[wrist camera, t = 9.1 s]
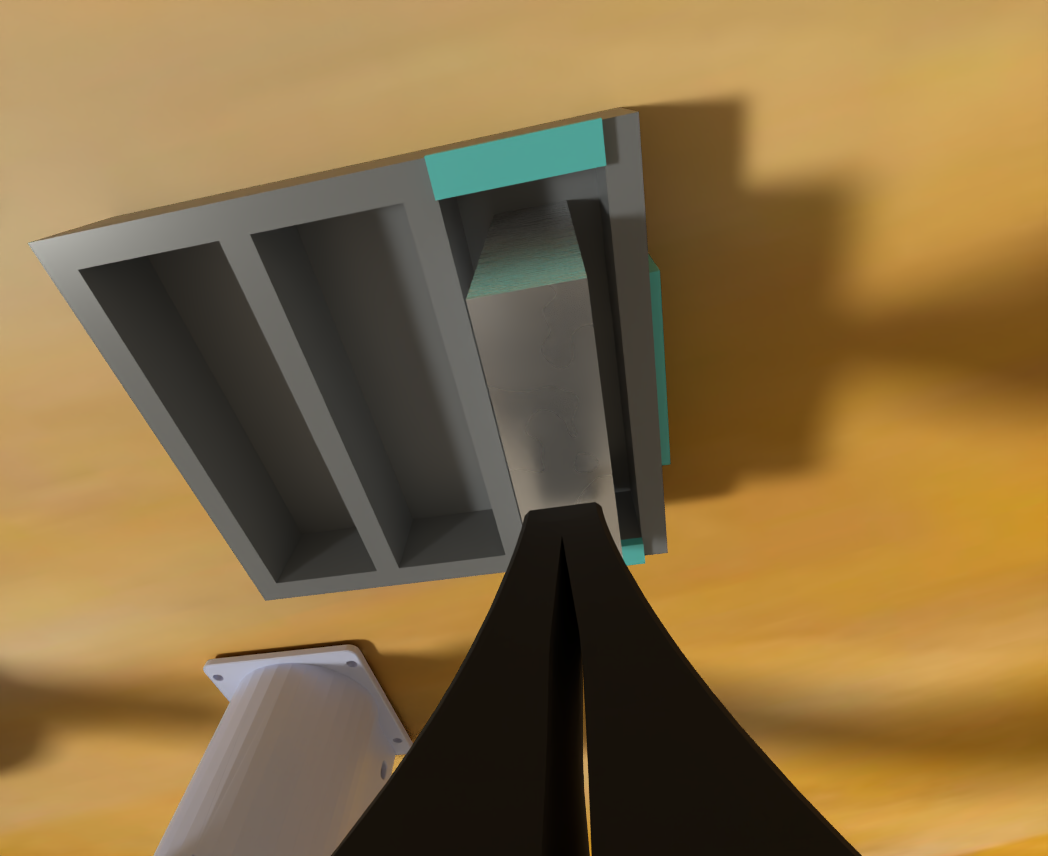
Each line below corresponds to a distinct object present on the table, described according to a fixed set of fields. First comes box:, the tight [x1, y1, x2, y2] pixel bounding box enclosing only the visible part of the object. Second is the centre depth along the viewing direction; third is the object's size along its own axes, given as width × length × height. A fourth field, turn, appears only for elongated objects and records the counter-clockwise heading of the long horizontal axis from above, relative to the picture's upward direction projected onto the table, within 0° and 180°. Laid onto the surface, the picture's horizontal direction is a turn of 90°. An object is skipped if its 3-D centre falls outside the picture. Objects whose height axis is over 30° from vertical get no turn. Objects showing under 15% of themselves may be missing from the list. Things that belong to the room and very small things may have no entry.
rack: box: [28, 107, 671, 601], centre depth 17 cm, size 13×15×3 cm
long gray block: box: [466, 200, 623, 558], centre depth 14 cm, size 10×2×7 cm, turn 11°
